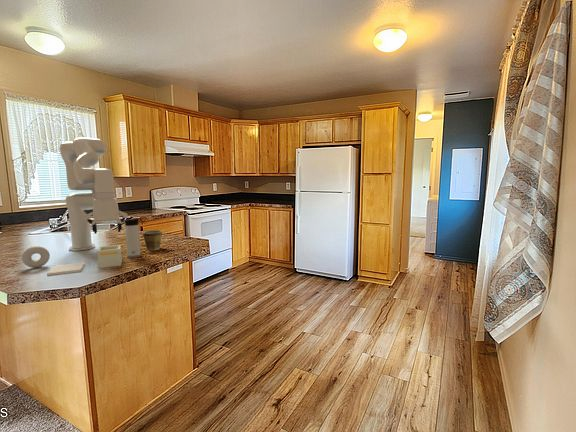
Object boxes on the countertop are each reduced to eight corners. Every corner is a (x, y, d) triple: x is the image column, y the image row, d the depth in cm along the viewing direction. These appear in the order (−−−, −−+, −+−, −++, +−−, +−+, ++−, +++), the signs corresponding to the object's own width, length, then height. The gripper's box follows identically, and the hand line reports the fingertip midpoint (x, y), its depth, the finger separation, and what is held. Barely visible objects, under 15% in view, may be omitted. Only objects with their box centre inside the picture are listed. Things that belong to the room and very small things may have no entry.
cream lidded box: (100, 263, 149) (99, 246, 148) (121, 260, 153) (120, 244, 152) (98, 268, 141) (97, 251, 139) (121, 265, 144) (119, 249, 143)
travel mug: (135, 258, 157) (133, 219, 154) (124, 257, 158) (121, 219, 156) (143, 255, 163) (141, 217, 160) (132, 254, 165) (130, 217, 162)
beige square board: (53, 267, 141) (53, 265, 141) (84, 264, 146) (84, 262, 146) (47, 275, 131) (46, 273, 130) (80, 271, 136) (80, 269, 136)
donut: (23, 270, 137) (20, 248, 136) (22, 268, 140) (20, 247, 138) (51, 266, 144) (49, 245, 142) (50, 264, 146) (48, 243, 145)
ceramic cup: (166, 248, 178) (165, 231, 177) (151, 252, 170) (149, 234, 168) (152, 245, 185) (151, 229, 183) (137, 248, 176) (136, 231, 175)
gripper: (81, 197, 135) (84, 235, 138) (126, 196, 143) (128, 232, 145) (84, 195, 142) (87, 232, 145) (126, 194, 149) (128, 229, 152)
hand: (107, 232), depth 145 cm, fingers open, 9 cm apart
